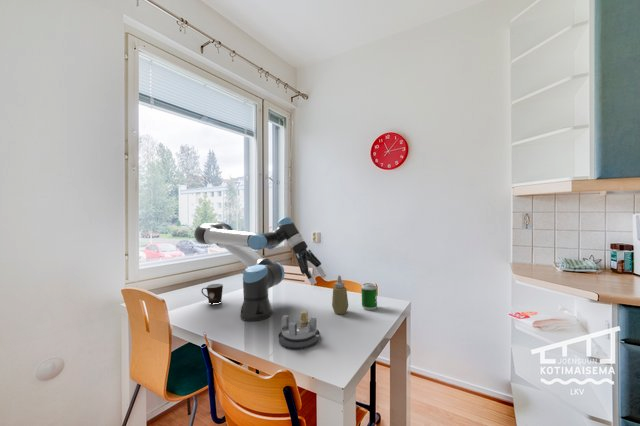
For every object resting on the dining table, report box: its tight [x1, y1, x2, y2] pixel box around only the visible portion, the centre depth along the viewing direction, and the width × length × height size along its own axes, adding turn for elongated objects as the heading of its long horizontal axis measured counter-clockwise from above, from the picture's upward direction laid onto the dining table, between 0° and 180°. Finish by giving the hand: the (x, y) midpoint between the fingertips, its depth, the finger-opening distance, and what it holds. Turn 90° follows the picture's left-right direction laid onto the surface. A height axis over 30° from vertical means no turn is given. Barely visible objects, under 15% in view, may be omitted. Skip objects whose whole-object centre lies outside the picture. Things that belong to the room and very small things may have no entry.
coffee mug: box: [201, 283, 224, 304], centre depth 148 cm, size 12×9×10 cm
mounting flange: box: [278, 328, 321, 351], centre depth 102 cm, size 16×16×2 cm
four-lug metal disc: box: [281, 310, 318, 342], centre depth 102 cm, size 14×14×6 cm
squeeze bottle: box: [331, 275, 349, 315], centre depth 128 cm, size 8×8×18 cm
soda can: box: [360, 282, 378, 311], centre depth 132 cm, size 8×8×12 cm
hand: (319, 280), depth 130 cm, fingers open, 13 cm apart
